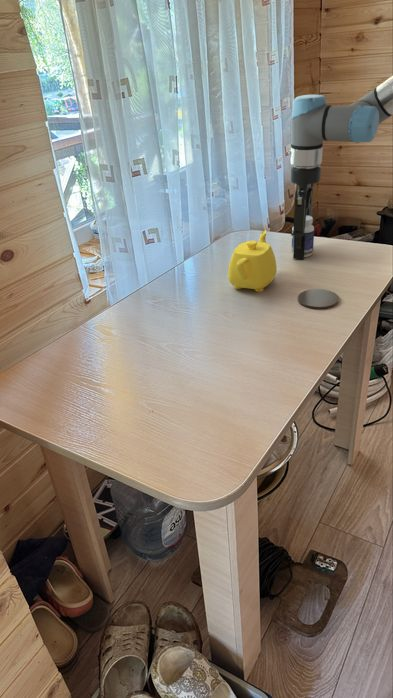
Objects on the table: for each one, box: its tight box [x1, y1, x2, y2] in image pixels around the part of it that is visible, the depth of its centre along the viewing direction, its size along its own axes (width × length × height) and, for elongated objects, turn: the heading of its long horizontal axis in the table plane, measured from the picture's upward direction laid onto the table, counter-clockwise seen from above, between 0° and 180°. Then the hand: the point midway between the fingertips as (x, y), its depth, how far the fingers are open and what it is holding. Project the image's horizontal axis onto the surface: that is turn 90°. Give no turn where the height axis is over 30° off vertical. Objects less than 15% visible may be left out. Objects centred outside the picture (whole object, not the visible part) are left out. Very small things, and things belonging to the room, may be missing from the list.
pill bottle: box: [291, 215, 315, 258], centre depth 136 cm, size 6×6×10 cm
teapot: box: [227, 230, 277, 293], centre depth 123 cm, size 18×11×11 cm, turn 154°
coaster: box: [297, 288, 340, 310], centre depth 116 cm, size 9×9×1 cm
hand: (301, 252), depth 139 cm, fingers open, 7 cm apart
